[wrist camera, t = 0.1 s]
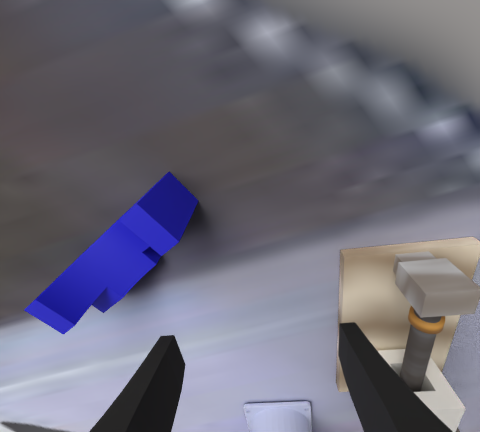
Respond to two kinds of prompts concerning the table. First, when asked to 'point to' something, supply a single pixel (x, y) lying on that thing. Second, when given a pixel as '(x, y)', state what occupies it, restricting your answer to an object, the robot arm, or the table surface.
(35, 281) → the table surface
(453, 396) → the cord end block
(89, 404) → the table surface
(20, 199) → the table surface
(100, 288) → the blue stepped block
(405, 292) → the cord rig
